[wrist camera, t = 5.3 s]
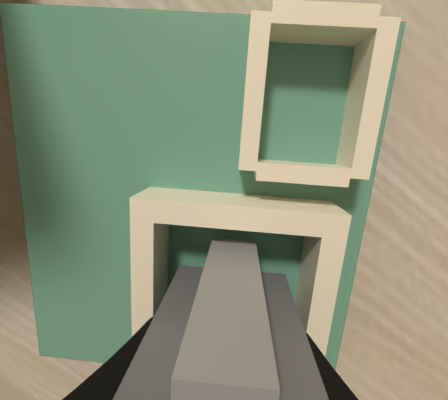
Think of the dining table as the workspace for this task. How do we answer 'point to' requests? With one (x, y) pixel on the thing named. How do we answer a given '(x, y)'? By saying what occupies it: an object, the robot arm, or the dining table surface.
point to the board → (192, 154)
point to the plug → (225, 336)
